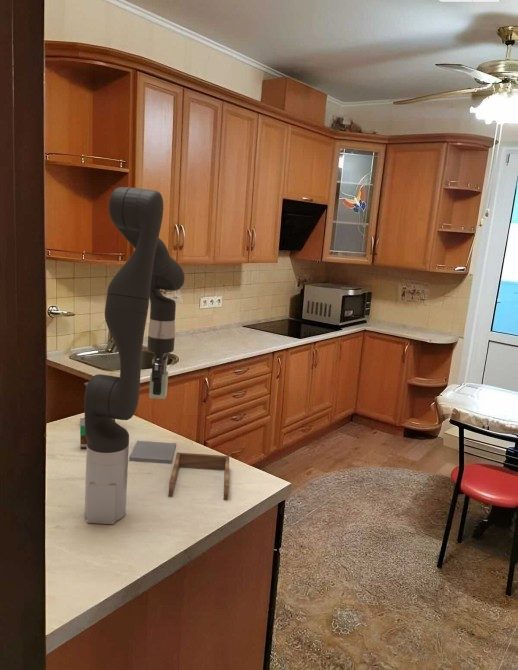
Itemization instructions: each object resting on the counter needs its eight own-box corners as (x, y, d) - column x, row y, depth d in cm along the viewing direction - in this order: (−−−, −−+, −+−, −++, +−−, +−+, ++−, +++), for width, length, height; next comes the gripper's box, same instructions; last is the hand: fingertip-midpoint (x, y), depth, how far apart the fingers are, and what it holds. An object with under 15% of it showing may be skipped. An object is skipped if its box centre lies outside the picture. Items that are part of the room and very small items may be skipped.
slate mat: (171, 463, 149) (171, 460, 148) (129, 460, 148) (129, 457, 148) (175, 446, 160) (176, 443, 160) (137, 443, 160) (137, 440, 159)
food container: (99, 453, 151) (100, 420, 149) (78, 451, 151) (79, 418, 149) (112, 436, 163) (113, 406, 161) (92, 434, 163) (93, 404, 161)
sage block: (164, 399, 148) (166, 375, 147) (149, 397, 148) (150, 374, 147) (166, 394, 153) (168, 371, 151) (151, 392, 153) (152, 370, 151)
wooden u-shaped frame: (227, 500, 132) (228, 485, 131) (168, 496, 131) (169, 481, 130) (228, 468, 149) (229, 456, 148) (176, 465, 148) (176, 452, 147)
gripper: (171, 341, 140) (167, 400, 144) (177, 330, 154) (174, 385, 157) (143, 338, 140) (140, 398, 143) (152, 328, 154) (149, 383, 157)
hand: (158, 391), depth 150 cm, fingers closed on sage block, 4 cm apart
